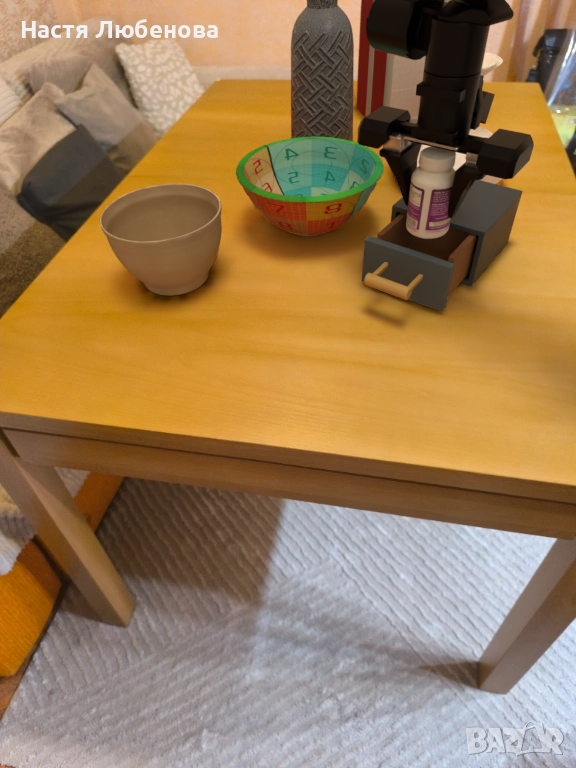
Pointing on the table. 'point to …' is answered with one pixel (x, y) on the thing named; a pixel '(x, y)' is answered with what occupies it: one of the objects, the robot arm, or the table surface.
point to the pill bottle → (431, 193)
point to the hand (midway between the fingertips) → (429, 210)
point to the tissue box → (385, 76)
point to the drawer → (417, 263)
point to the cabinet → (482, 221)
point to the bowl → (309, 182)
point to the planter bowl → (165, 235)
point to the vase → (322, 72)
